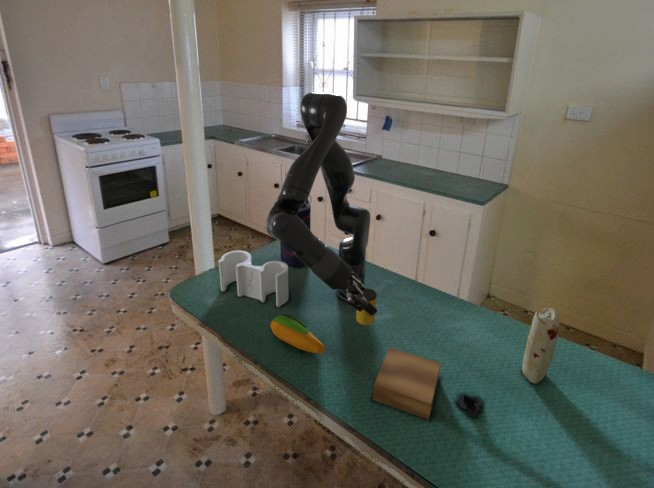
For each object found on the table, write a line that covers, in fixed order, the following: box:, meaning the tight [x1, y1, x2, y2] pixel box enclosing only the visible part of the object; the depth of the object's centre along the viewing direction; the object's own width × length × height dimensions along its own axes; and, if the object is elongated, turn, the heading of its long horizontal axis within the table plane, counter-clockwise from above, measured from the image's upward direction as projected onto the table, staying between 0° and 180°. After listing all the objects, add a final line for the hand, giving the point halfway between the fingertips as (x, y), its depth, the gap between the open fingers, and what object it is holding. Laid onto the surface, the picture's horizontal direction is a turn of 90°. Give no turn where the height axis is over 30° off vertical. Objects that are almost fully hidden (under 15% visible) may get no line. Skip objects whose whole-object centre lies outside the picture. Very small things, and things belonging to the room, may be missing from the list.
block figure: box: [456, 394, 482, 418], centre depth 100 cm, size 6×2×6 cm
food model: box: [521, 307, 561, 384], centre depth 107 cm, size 10×7×20 cm
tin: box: [355, 287, 378, 326], centre depth 108 cm, size 5×5×8 cm
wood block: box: [372, 346, 442, 420], centre depth 104 cm, size 14×14×5 cm
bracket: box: [218, 249, 290, 308], centre depth 140 cm, size 25×10×12 cm, turn 67°
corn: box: [269, 314, 326, 354], centre depth 117 cm, size 7×8×20 cm
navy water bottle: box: [279, 194, 312, 268], centre depth 158 cm, size 14×12×30 cm
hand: (373, 306), depth 108 cm, fingers closed on tin, 5 cm apart
